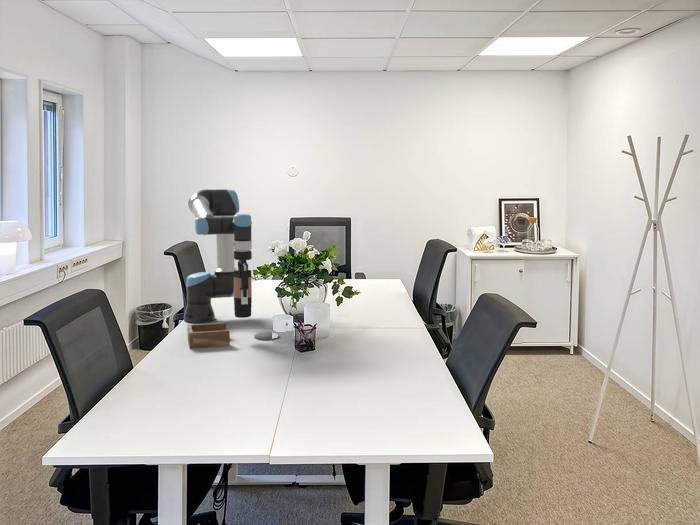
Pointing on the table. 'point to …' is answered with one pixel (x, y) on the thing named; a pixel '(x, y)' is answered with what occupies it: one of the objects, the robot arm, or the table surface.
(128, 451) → the table surface
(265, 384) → the table surface
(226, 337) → the frame
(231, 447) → the table surface
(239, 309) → the travel mug
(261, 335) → the coaster
